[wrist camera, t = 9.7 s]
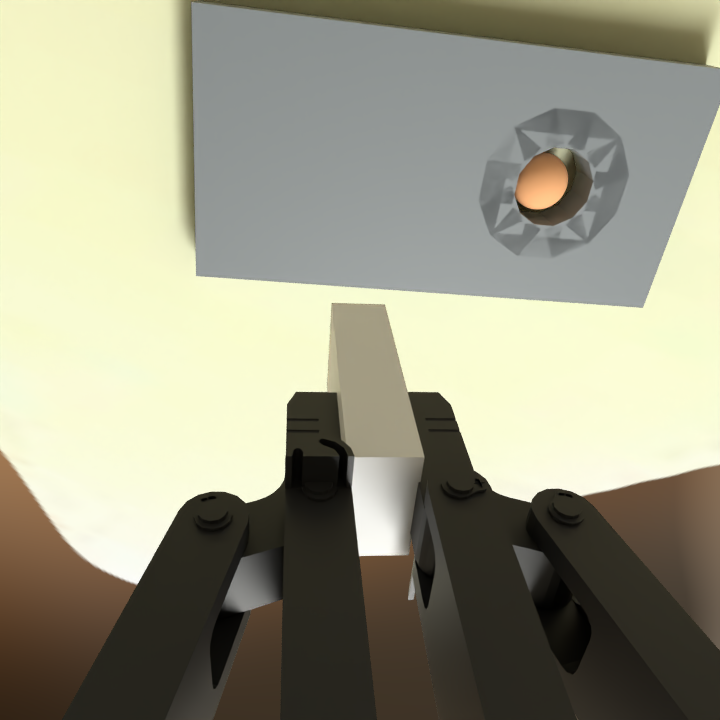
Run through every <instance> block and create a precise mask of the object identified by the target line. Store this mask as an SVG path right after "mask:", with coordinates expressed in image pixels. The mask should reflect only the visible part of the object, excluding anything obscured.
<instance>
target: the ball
mask: <svg viewBox="0 0 720 720" xmlns="http://www.w3.org/2000/svg"><path fill="white" fill-rule="evenodd" d="M567 184H568V173H567V170H566V167H565V165H564V163H563V162H562V161H561V160H560V159H559V158H558V157H556V156H555V155H553V154H550V153H547V152H543V153H540V154H538V155H536V156H534V157H533V158H532V159H531V161H530V162H529V163H528V164H527V165H526V167H525V168H524V169H523V170H522V171H521V173H520V174H519V177H518V182H517V186H516V190H515V194H514V195H515V198H516V200H517V201H518V202H519V203H520V204H522V205H523V206H525V207H527V208H530V209H544V208H547V207H550V206H552V205H553V204H555V203H556V202H558V201H559V200H560V198H561V197H562V196H563V194H564V192H565V190H566V188H567Z"/></svg>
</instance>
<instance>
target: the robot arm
mask: <svg viewBox="0 0 720 720" xmlns="http://www.w3.org/2000/svg"><path fill="white" fill-rule="evenodd" d="M327 390H328V392H296V393H295V394H294V396H293V397H292V398H291V400H290V401H289V402H288V404H287V433H286V458H285V478H284V481H283V483H282V485H281V486H280V487H279V488H278V489H277V490H276V491H275V492H274V493H272V494H271V495H269V496H267V497H265V498H263V499H260V500H257V501H253V502H249V503H245V502H244V501H242V500H241V499H240V498H239V497H238V496H236V495H232V494H229V493H226V492H208V493H204V494H200V495H197V496H196V497H194V498H192V499H190V500H189V501H187V502H186V503H185V504H184V505H183V506H182V508H181V509H180V510H179V511H178V513H177V515H176V517H175V519H174V520H173V522H172V524H171V526H170V527H169V529H168V531H167V533H166V535H165V536H164V538H163V540H162V542H161V544H160V545H159V547H158V549H157V551H156V552H155V554H154V556H153V558H152V560H151V561H150V563H149V565H148V567H147V569H146V570H145V572H144V574H143V576H142V578H141V579H140V581H139V583H138V585H137V586H136V588H135V590H134V592H133V594H132V595H131V597H130V599H129V601H128V603H127V604H126V606H125V608H124V610H123V612H122V613H121V615H120V617H119V619H118V620H117V623H116V624H115V626H114V628H113V630H112V631H111V633H110V635H109V637H108V638H107V640H106V642H105V644H104V646H103V647H102V649H101V651H100V653H99V655H98V656H97V658H96V660H95V662H94V663H93V665H92V667H91V669H90V671H89V672H88V674H87V676H86V678H85V680H84V681H83V683H82V685H81V687H80V688H79V690H78V692H77V694H76V696H75V697H74V699H73V701H72V703H71V705H70V707H69V708H68V710H67V712H66V713H65V715H64V717H63V719H62V720H213V718H214V715H215V712H216V709H217V707H218V704H219V701H220V698H221V695H222V692H223V690H224V687H225V684H226V681H227V678H228V675H229V673H230V670H231V667H232V664H233V661H234V658H235V656H236V653H237V650H238V647H239V644H240V641H241V639H242V636H243V633H244V630H245V627H246V625H247V622H248V619H249V616H250V611H251V609H254V608H257V607H260V606H263V605H266V604H269V603H272V602H275V601H278V600H282V599H283V617H282V667H281V669H282V670H281V713H280V720H377V717H376V707H375V698H374V690H373V680H372V671H371V661H370V653H369V643H368V634H367V625H366V616H365V606H364V597H363V588H362V578H361V569H360V560H359V556H372V555H409V549H410V543H411V539H412V544H413V549H414V554H415V557H414V562H413V569H412V574H411V580H410V586H409V593H408V600H413V599H414V593H416V598H417V603H418V609H419V614H420V620H421V625H422V630H423V636H424V641H425V646H426V652H427V658H428V663H429V668H430V674H431V679H432V684H433V690H434V695H435V701H436V705H437V711H438V716H439V720H577V719H576V716H577V718H578V719H579V720H720V650H719V649H718V648H717V647H716V646H715V645H714V644H713V642H711V640H710V639H709V638H708V637H707V636H706V634H705V633H704V632H703V631H702V630H701V629H700V628H699V626H698V625H697V624H696V623H695V622H694V621H693V620H692V619H691V617H690V616H689V615H688V614H687V613H686V612H685V610H684V609H683V608H682V607H681V606H680V605H679V603H678V602H677V601H676V600H675V599H674V598H673V597H672V596H671V594H670V593H669V592H668V591H667V590H666V589H665V588H664V586H663V585H662V584H661V583H660V582H659V581H658V579H657V578H656V577H655V576H654V575H653V574H652V573H651V571H650V570H649V569H648V568H647V567H646V566H645V565H644V563H643V562H642V561H641V560H640V559H639V558H638V557H637V556H636V554H635V553H634V552H633V551H632V550H631V549H630V547H629V546H628V545H627V544H626V543H625V542H624V541H623V539H622V538H621V537H620V536H619V535H618V534H617V533H616V531H615V530H614V529H613V528H612V527H611V526H610V525H609V523H608V522H607V521H606V520H605V519H604V518H603V516H602V515H601V514H600V513H599V512H598V511H597V510H596V508H595V507H594V506H593V505H592V504H590V503H589V502H588V501H587V500H586V499H585V498H583V497H581V496H579V495H577V494H575V493H573V492H571V491H566V490H562V489H546V490H544V491H541V492H539V493H537V494H536V496H535V497H534V498H533V499H532V502H531V503H530V502H526V501H521V500H517V499H513V498H509V497H506V496H503V495H500V494H498V493H496V492H494V491H492V488H491V486H490V485H489V483H488V482H487V480H486V479H485V478H484V477H482V476H481V475H480V474H478V473H477V472H475V471H474V470H473V467H472V464H471V461H470V458H469V455H468V453H467V450H466V447H465V444H464V441H463V438H462V436H461V433H460V432H459V427H458V424H457V421H455V416H454V413H453V410H452V407H451V405H450V404H449V403H448V402H447V401H446V400H445V399H444V398H443V397H442V396H441V395H440V394H439V393H438V392H407V388H406V384H405V380H404V376H403V373H402V369H401V365H400V361H399V357H398V353H397V349H396V346H395V342H394V338H393V334H392V330H391V326H390V323H389V319H388V315H387V311H386V307H385V305H382V304H347V303H332V306H331V324H330V342H329V360H328V378H327ZM575 714H576V716H575Z"/></svg>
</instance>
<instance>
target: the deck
mask: <svg viewBox="0 0 720 720" xmlns="http://www.w3.org/2000/svg"><path fill="white" fill-rule="evenodd" d="M191 8H192V65H193V122H194V179H195V237H196V276H205V277H219V278H233V279H247V280H261V281H275V282H289V283H303V284H317V285H331V286H345V287H360V288H374V289H388V290H402V291H416V292H430V293H444V294H458V295H472V296H486V297H500V298H514V299H528V300H542V301H556V302H570V303H584V304H598V305H612V306H626V307H640V308H643V306H644V303H645V301H646V298H647V295H648V293H649V290H650V287H651V285H652V282H653V279H654V277H655V274H656V272H657V269H658V266H659V264H660V261H661V258H662V256H663V253H664V250H665V248H666V245H667V242H668V240H669V237H670V235H671V232H672V229H673V227H674V224H675V221H676V219H677V216H678V213H679V211H680V208H681V206H682V203H683V200H684V198H685V195H686V192H687V190H688V187H689V184H690V182H691V179H692V176H693V174H694V171H695V169H696V166H697V163H698V161H699V158H700V155H701V153H702V150H703V147H704V145H705V142H706V140H707V137H708V134H709V132H710V129H711V126H712V124H713V121H714V118H715V116H716V113H717V110H718V108H719V105H720V68H718V67H713V66H708V65H702V64H694V63H686V62H678V61H670V60H662V59H654V58H647V57H639V56H631V55H623V54H615V53H607V52H599V51H591V50H584V49H576V48H568V47H560V46H552V45H544V44H536V43H528V42H521V41H513V40H505V39H497V38H489V37H481V36H473V35H465V34H458V33H450V32H442V31H434V30H426V29H418V28H410V27H402V26H395V25H387V24H379V23H371V22H363V21H355V20H347V19H339V18H332V17H324V16H316V15H308V14H300V13H292V12H284V11H276V10H269V9H261V8H253V7H245V6H237V5H229V4H221V3H213V2H206V1H194V2H191ZM554 147H556V148H566V149H570V150H571V151H572V153H573V157H574V161H575V165H576V169H577V171H576V174H575V178H574V181H573V185H572V188H571V190H570V191H569V192H568V194H567V195H566V196H565V197H564V198H563V199H562V200H561V201H560V203H559V204H558V205H556V206H554V207H551V208H549V209H547V210H544V211H542V212H540V213H537V212H526V211H521V210H519V208H518V205H517V202H516V199H515V195H514V194H515V190H516V186H517V182H518V177H519V174H520V173H521V171H522V170H523V169H524V168H525V167H526V165H527V164H528V163H529V162H530V161H531V159H532V158H533V157H534V156H536V155H538V154H540V153H543V152H545V151H547V150H549V149H552V148H554Z"/></svg>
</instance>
